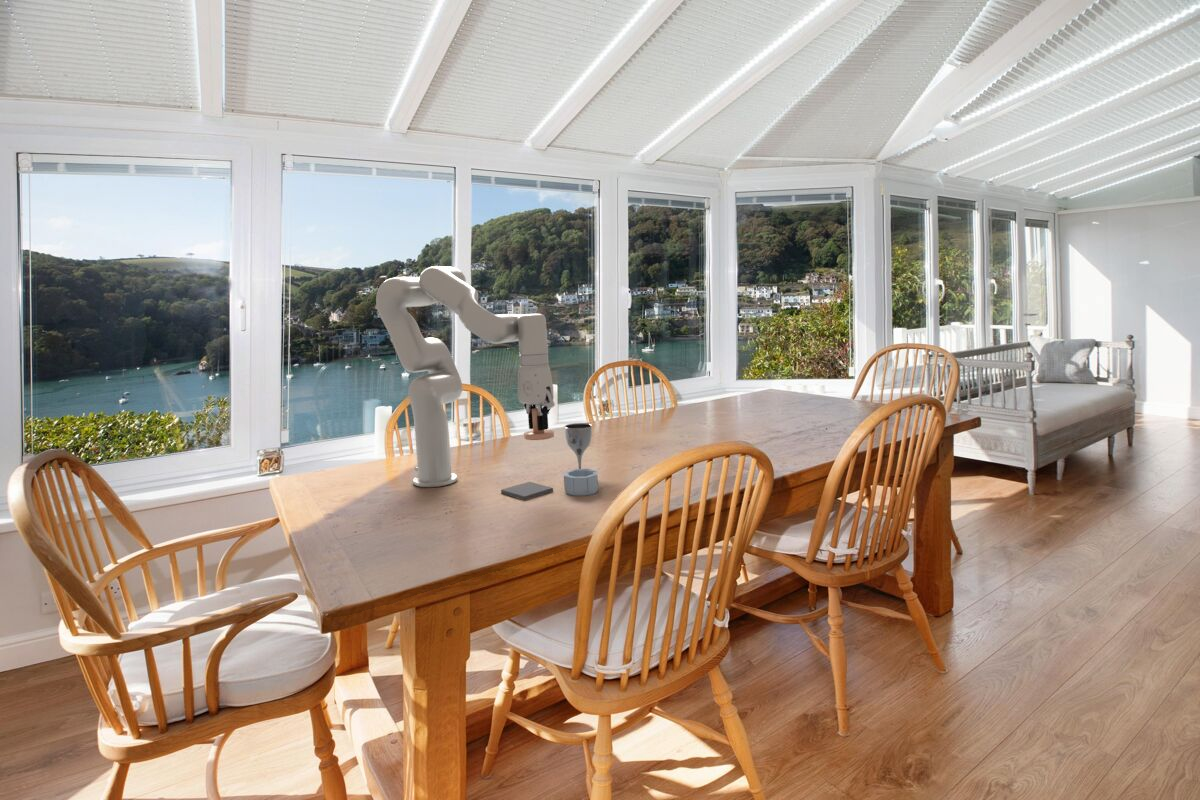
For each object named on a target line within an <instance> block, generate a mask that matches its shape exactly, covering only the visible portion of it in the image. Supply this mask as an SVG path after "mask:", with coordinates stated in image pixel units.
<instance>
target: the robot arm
mask: <svg viewBox="0 0 1200 800" xmlns="http://www.w3.org/2000/svg"><path fill="white" fill-rule="evenodd" d="M466 279H467V278H466V277H465V275H464V273H463V271H461V270H460V269H458V268H456V267H453V266H442V265H441V266H440V265H439V266H438V265H435V266H430V267H427V268H425V269H423V271H422V272H421V273H420V275H419V276H418V277H417V276H416V277H415V276H413V277H411V276H396V277H391V278H388V279H386V280H385V281H383V282H382V283H381V284H380V286H379V288H378V289H377V292H376V298H375V305H376V310H377V312H378V314H379V317H380V319H381V321H382V323H383V324H384V327H385V328H386V330H387V332H388V335H389V338H390V340H391V343H392V345H393V348H394V350H395V352H396V354H397V358H398V360H399V362H400V364H401V366H402V367H403V369H404V370H405V371H406V372H408V373H414V374H416V373H421V372H428V374H423V375H420V376H417V377H416V378H414V379H413V380H412V381H411V383H410V384H409V385H408V390H407V393H408V400H409V403H410V407H411V411H412V417H413V424H414V425H413V427H414V437H415V438H414V439H415V448H416V449H415V450H416V461H417V466H414V471H415V472H417V476H416V477H414V478H413V480H412V481H413V485H415V486H416V487H421V488H435V487H443V486H448V485H451V484H453V483H455V482H457V481H458V475H457V474H455V473H453V472H452V461H451V448H450V447H451V444H450V431H449V430H450V429H449V421H448V415H447V414H446V411H445V410H444V408H443V405H447V404H450V403H453V402H456V401H457V400H459V399H460V397H461V395H462V392H463V383H462V379H461V377H460V374H459V370H458V368H457V367H456V364H455V362H454V359H453V357H452V354H451V351H450V350H449V348H448V347H447V345H446V343H444V342H443V341H442V340H441V339H439V338H436V337H426V338H425V337H424V336H423V334H422V332H421V330H420V327H419V325H418V322H417V320H416V319H415V318H414V317H413V316H412V314H411V313H410V312H409V311H408V310H407V308H412V307H413V308H415V307H417V308H418V307H427V306H432V305H434V304H438V303H439V304H441V305H443V306H444V307H445V308H447V309H448V310H449V311H451V312H453V313H454V314H456V315H458V318H459V320H460V322H461V323H462V325H463V326H464V327H465V329H467V330H468V331H469V332H470V333H472V334H473V335H475V336H477V337H478V338H480V339H481V340H483V341H485V342H487V343H489V344H492V345H493V344H494V345H498V344H507V343H514V342H518V350H519V351H518V352H519V363H520V364H519V366H518V372H517V399H518V401H519V402H520V404H521V405H522V406H523V407H524V409H525V411H526V414H527V417H528V418H527V419H528V429H529V430H533V422H532V409H533V408H538V414H539V416H537V425H538V430H539V431H541V430H549V419H548V417H549V416H548V415H549V414H550V411H551V409H552V408H554V407H555V401H554V384H553V377H552V376H553V375H552V371H551V367H550V365H549V350H548V349H549V346H548V331H547V319H546V316H545V314H542V313H526V314H517V313H503V314H495V313H492V312H490V311H489V310H488V309H486V308H484V307H483V306H481V305H480V304H479V303H478V301H479V292H478V290H477V289H476V288H475V287H473V286H471V285H469V284H468V283H467V280H466Z"/></svg>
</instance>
